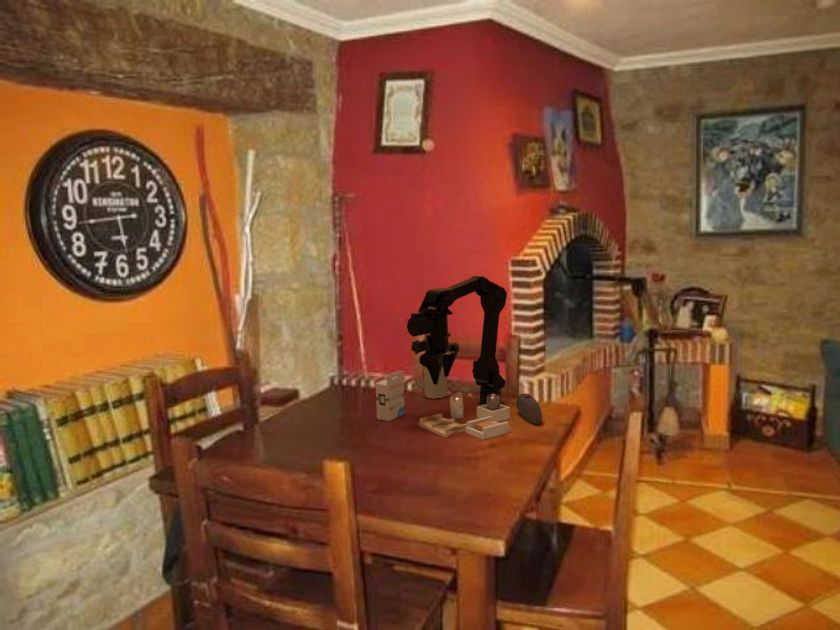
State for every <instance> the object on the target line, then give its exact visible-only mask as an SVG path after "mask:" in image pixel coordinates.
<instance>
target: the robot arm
mask: <svg viewBox="0 0 840 630" xmlns="http://www.w3.org/2000/svg"><path fill="white" fill-rule="evenodd" d="M472 293H475V294H476V295H477V296H478V297H479V298H480V305H481V308H482V310H483V323H482V336H481V345H480V355H479V356H478V358H477V360H473V362H472V370H471V373H472V377H473V379H474V381H475V384H476V386H478V387H480V388H479V389H480V391H479V401H477V404H479V405H481V406H482V405H486V404H487V395H490V394H492V393H494V394H496V395H499V396H500V404H501V405H504V402H503V401H501V399H502V398H501V394H502V393H501V392H502V391H501V390H502V389H503V388H505V386H506V380H505V378H504V377H503V376H502V375H501V374H500V365H499V363H498V360H497V358H496V355H497V342H498V333H499V321H500V314H501V312H502V311H503V310H504V308H505V306H506V303H507V296H508V292H507V291H506V289H505V288H504V287H503V286H500V285H499V284H497V283H495V282H494V281H491V280H489V278H487V277H485V276H483V275H474V276H471V277H470V278H468V279H465V280H462V281H460V282H457V283H455V284H453V285H451V286H450V285H449V286H448V287H440V288H433V289H432V288H431V289H428V290H427V291H426V292H425V296H424V298H423V300H422V302H421V304H420V307H419V309H418V311H417V312H412V313H411V314H410V318H409V319H408V320H407V323H406V328H407V332H408V334H409V335H410V336H412V337H419V336H423V335H426V338H425V339H422V340H420V339H417V340H414V341H412V342H411V345H410V346H411V348H410V350H411V351H412V352H414V355H419V353H422V352H424V353H422V354H421V355H420V356H419V357H418V363H419V365H421V366H423V367H424V366H425V367H426V368H427V369H428V371H429V373H430V376H431V379H432V381H433V384H434V385H437V384H438V380H439V376H440V373H441V369H442V365H443V370H444V375H445V377H447V378H448V377H449V376H450V373H451V370H452V368H453V365H454V363H455V361H456V358H457V357H458V354H459V352H460V345H459V344H458V343H457V342H450V341H449V338H450V337H451V332H449V319H448V316H449V315H450V316H451V315H453V311H452V310H450V309H449V308H450V307H452V305H454V303H455V301H457V300H458V299H461V298H463V297H465V296H468V295H470V294H472ZM425 350H426V351H427V352H426V351H425ZM425 352H426V353H425ZM431 352H432V353H431Z"/></svg>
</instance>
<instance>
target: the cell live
mask: <svg viewBox="0 0 840 630" xmlns="http://www.w3.org/2000/svg"><path fill="white" fill-rule="evenodd" d="M449 398H450V399H449V402H450V403H449V404H450V405H449V406H450V419H453V418H454V419H455V420H460V419H461V420H462V419H463V418H464V396H463V395H460V394H456V393H454V394H453V395H450V397H449Z"/></svg>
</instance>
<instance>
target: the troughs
mask: <svg viewBox="0 0 840 630" xmlns="http://www.w3.org/2000/svg"><path fill="white" fill-rule="evenodd" d="M417 424H418V427H420V428H422V429H425V430H426V431H429V432H432V433H434V434H436V435H438V436H441V437H443V438H448V437H451V436H452V435H455V434H458V433H462V432H466V431H465V427H467V423H462V424H461V423H459V422H456V419H454V418H453V419H452V418H449V419H448V418H445V417H444V416H443V414H442V413H437V414H433V415H429V416H424V417H421V418H419V422H418V423H417Z"/></svg>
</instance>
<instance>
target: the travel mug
mask: <svg viewBox="0 0 840 630" xmlns="http://www.w3.org/2000/svg"><path fill="white" fill-rule="evenodd" d="M426 352H427V351H426V350H425V351H424V353H426ZM431 353H432V352H431ZM423 377H424V379H423V382H424V396H425V397H426V398H428V399H431V398H432V399H433V400H437V399H436V398H440V399H444V398H446V397H447V396H448V377H445V375H444V370H443V365H442V369H441V373H440V376H439V380H438V384H437V385H434V384H433V381H432V379H431V376H430V373H429V371H428V369H427V368H426V367H425V366H423ZM445 396H446V397H445ZM443 397H444V398H443Z"/></svg>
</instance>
